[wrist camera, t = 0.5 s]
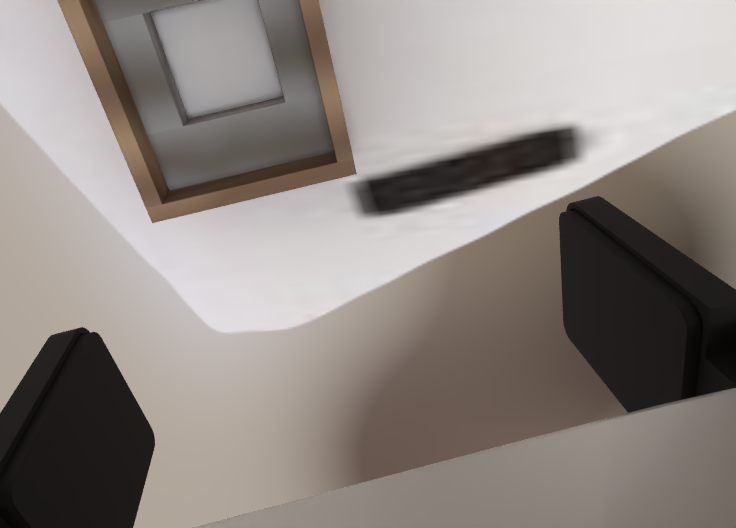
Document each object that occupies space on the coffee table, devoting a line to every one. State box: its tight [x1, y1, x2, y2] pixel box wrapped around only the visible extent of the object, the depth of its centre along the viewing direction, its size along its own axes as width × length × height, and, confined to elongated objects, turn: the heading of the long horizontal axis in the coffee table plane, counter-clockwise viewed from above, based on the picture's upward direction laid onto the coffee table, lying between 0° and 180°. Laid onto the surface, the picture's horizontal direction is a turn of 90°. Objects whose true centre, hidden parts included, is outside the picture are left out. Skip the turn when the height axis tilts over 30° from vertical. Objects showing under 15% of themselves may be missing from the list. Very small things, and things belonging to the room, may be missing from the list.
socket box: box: [58, 0, 357, 223], centre depth 32 cm, size 16×13×4 cm
